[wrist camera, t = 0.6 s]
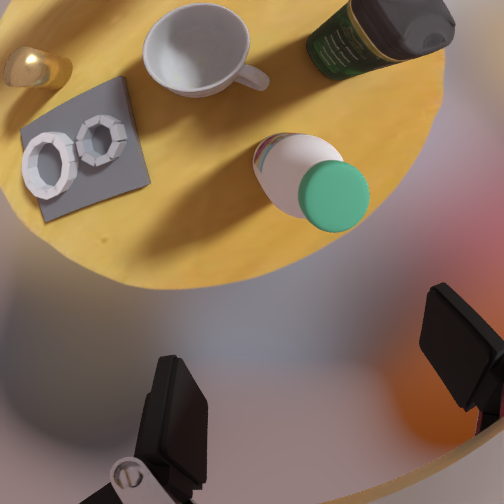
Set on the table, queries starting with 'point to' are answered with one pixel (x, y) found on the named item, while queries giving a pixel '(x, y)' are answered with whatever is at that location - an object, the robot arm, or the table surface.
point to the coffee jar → (379, 35)
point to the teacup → (200, 51)
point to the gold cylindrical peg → (37, 69)
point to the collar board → (84, 151)
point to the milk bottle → (311, 181)
